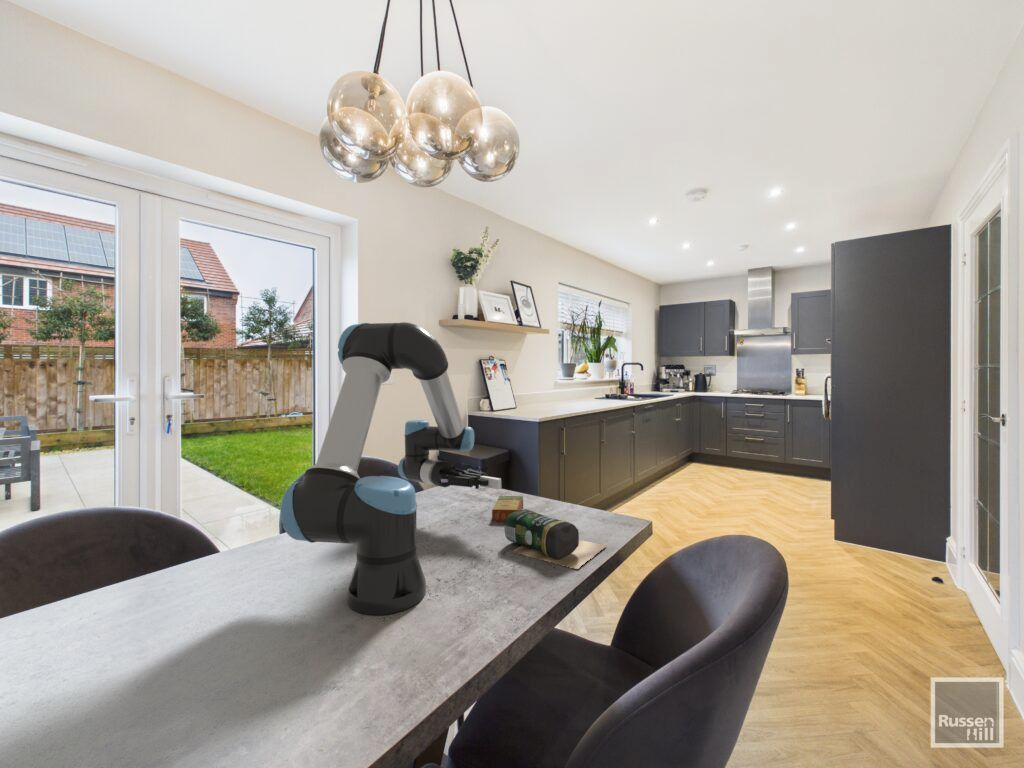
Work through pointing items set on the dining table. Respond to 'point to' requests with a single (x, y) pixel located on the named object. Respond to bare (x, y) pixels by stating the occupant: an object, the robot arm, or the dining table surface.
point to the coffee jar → (542, 533)
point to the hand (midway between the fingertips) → (499, 484)
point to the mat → (572, 560)
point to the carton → (506, 507)
